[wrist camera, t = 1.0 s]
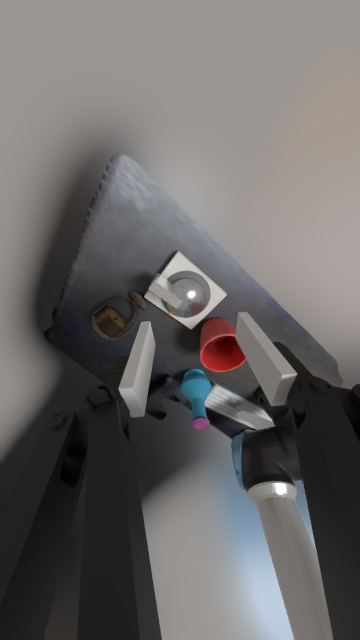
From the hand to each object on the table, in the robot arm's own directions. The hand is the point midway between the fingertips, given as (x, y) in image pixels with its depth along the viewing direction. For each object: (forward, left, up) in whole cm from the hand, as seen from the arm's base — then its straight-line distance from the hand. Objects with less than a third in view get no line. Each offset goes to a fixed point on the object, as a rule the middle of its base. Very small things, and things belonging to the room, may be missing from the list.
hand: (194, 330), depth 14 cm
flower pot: (-17, +7, -23) cm, 30 cm away
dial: (-2, +4, -21) cm, 21 cm away
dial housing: (-4, +4, -23) cm, 24 cm away
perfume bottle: (-25, +24, -23) cm, 42 cm away
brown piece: (+4, +17, -24) cm, 29 cm away
